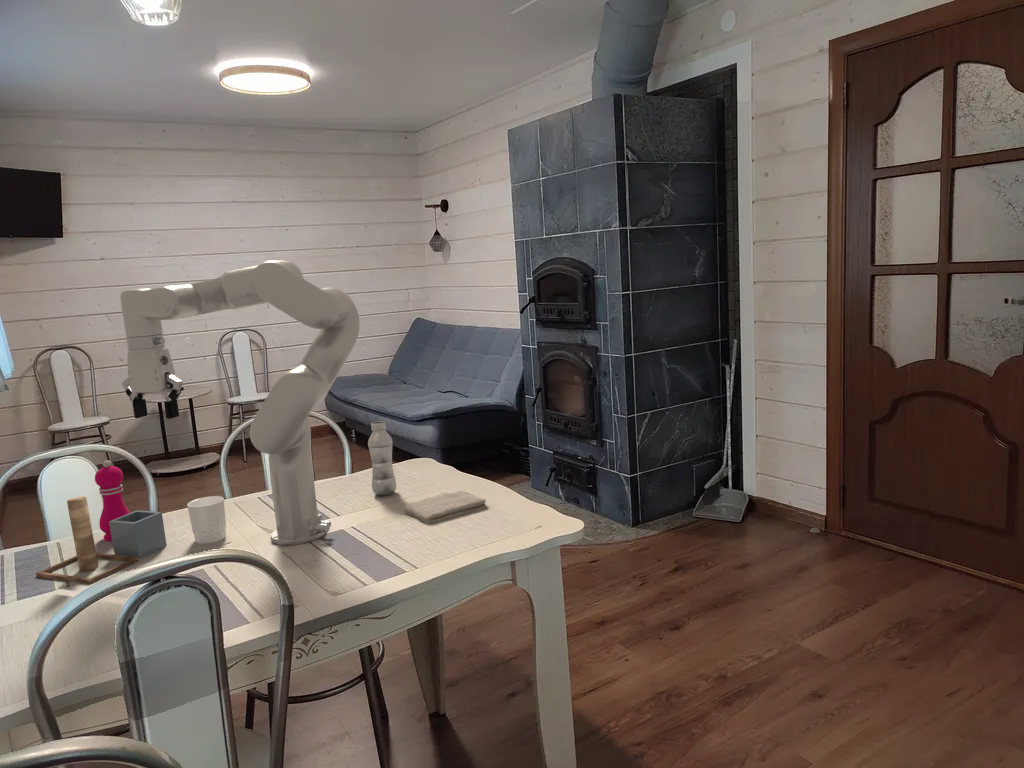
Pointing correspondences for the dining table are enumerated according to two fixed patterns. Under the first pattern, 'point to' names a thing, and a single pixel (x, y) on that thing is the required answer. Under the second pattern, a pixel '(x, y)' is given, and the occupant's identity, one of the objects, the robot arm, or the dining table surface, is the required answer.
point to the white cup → (207, 519)
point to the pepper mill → (110, 496)
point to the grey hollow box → (138, 533)
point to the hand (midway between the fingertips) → (157, 417)
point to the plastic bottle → (381, 460)
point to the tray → (47, 574)
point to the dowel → (82, 534)
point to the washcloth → (444, 506)
